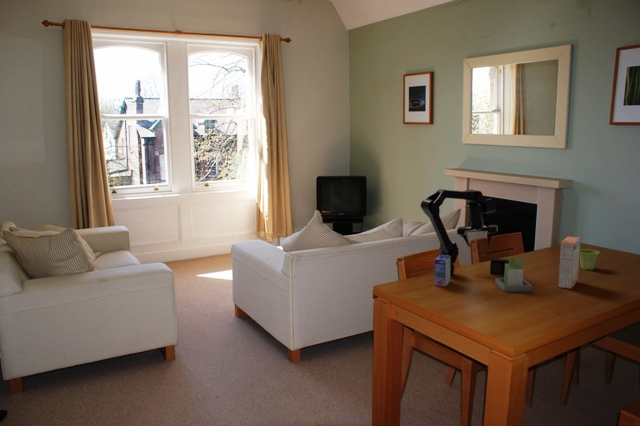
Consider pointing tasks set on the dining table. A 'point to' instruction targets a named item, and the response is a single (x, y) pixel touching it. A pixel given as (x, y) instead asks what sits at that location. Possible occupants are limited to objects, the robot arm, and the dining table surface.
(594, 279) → the dining table surface
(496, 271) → the digital camera
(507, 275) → the ink box
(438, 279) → the ink cartridge box
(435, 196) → the robot arm
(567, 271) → the cracker box
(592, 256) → the plant pot
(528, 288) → the tray
